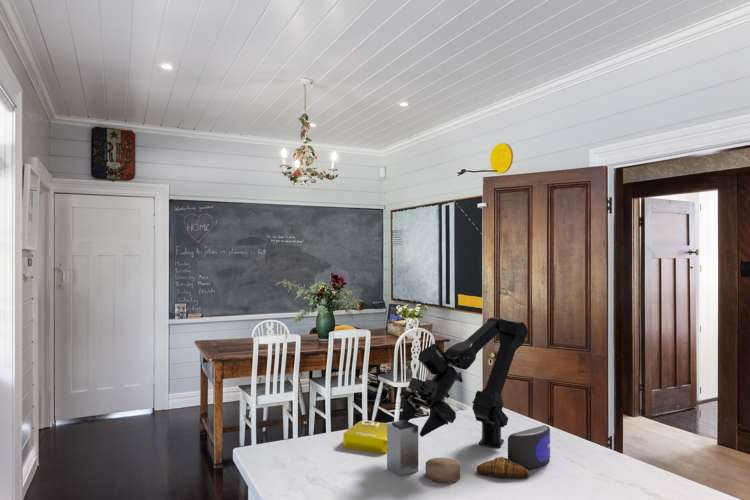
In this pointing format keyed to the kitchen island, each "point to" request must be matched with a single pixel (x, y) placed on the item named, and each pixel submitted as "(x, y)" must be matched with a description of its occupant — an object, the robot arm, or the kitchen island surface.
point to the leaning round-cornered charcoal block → (530, 447)
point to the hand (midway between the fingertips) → (409, 430)
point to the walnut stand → (443, 470)
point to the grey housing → (402, 447)
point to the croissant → (502, 469)
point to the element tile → (367, 437)
